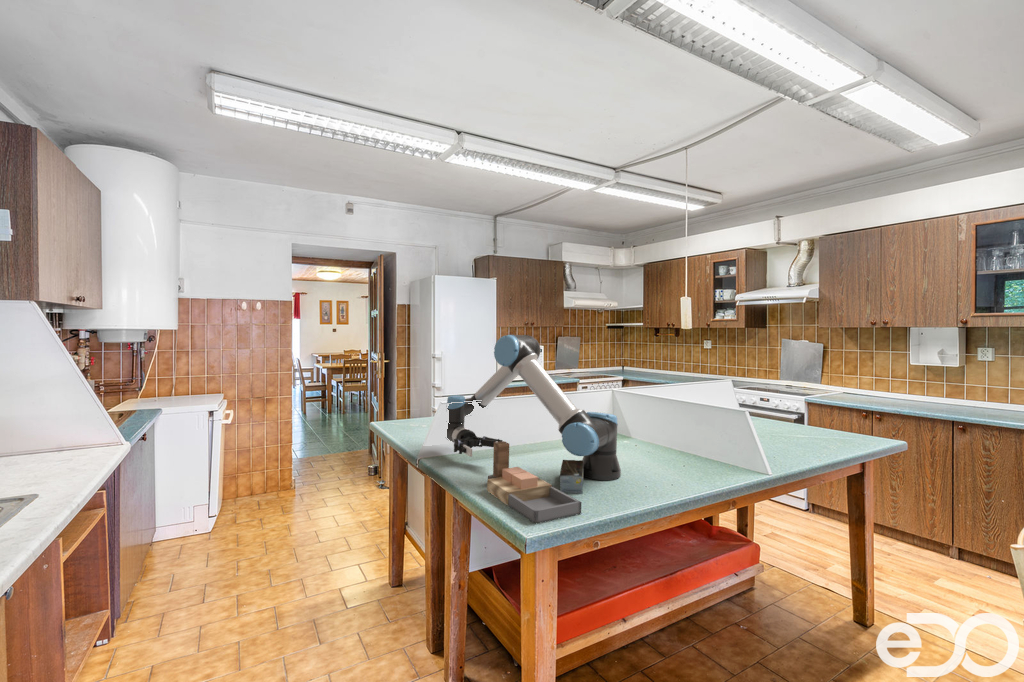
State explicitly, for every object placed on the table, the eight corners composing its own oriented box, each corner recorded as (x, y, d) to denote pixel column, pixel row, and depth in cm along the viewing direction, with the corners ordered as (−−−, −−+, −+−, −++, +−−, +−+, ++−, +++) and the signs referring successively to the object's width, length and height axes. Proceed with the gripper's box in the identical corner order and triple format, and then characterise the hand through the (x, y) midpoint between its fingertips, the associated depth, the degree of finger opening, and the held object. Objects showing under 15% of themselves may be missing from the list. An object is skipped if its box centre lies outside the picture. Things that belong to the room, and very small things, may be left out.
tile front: (511, 483, 152) (511, 474, 152) (527, 480, 155) (527, 471, 155) (521, 489, 147) (521, 479, 147) (537, 486, 150) (537, 477, 150)
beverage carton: (558, 492, 157) (558, 473, 157) (561, 475, 176) (562, 457, 176) (582, 494, 156) (583, 474, 156) (583, 477, 175) (583, 459, 175)
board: (487, 491, 156) (487, 479, 156) (528, 484, 164) (528, 472, 164) (507, 505, 144) (508, 492, 144) (551, 497, 152) (551, 484, 152)
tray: (508, 505, 144) (508, 494, 144) (551, 497, 152) (552, 486, 152) (535, 524, 131) (535, 511, 131) (581, 513, 139) (581, 502, 139)
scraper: (487, 482, 165) (488, 442, 164) (507, 479, 169) (508, 440, 168) (493, 486, 161) (494, 445, 161) (513, 483, 165) (514, 443, 165)
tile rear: (502, 477, 158) (502, 469, 158) (517, 475, 161) (518, 466, 161) (511, 483, 153) (511, 473, 153) (527, 480, 156) (527, 471, 155)
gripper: (491, 444, 198) (517, 457, 180) (434, 450, 186) (456, 465, 167) (492, 426, 198) (517, 437, 179) (435, 431, 185) (456, 444, 167)
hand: (488, 450), depth 173 cm, fingers open, 13 cm apart
